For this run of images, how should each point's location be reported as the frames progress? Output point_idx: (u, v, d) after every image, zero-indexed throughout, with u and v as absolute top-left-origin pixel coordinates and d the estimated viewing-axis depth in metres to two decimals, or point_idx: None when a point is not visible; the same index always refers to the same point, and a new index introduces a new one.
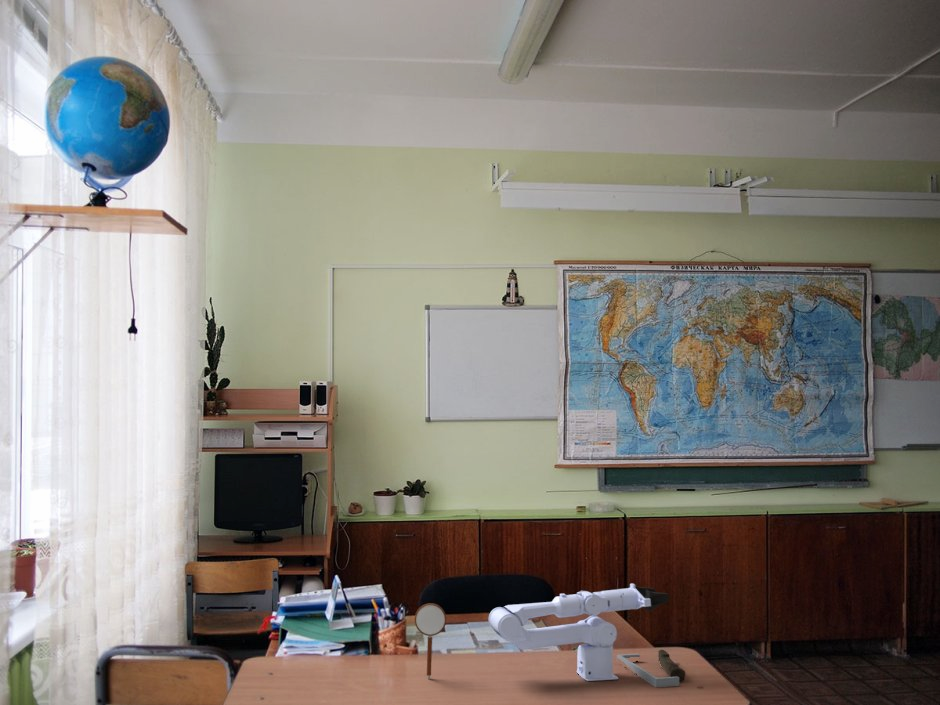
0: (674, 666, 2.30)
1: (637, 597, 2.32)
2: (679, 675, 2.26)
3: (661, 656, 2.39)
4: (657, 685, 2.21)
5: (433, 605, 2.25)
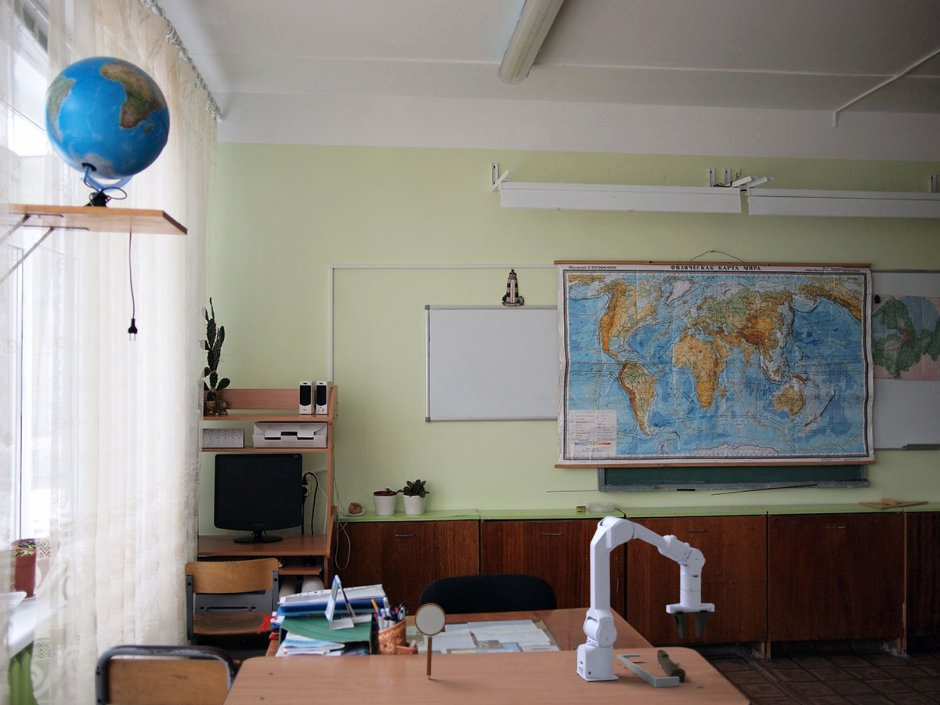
0: (674, 666, 2.30)
1: None
2: (679, 675, 2.26)
3: (660, 656, 2.39)
4: (657, 685, 2.21)
5: (433, 605, 2.25)
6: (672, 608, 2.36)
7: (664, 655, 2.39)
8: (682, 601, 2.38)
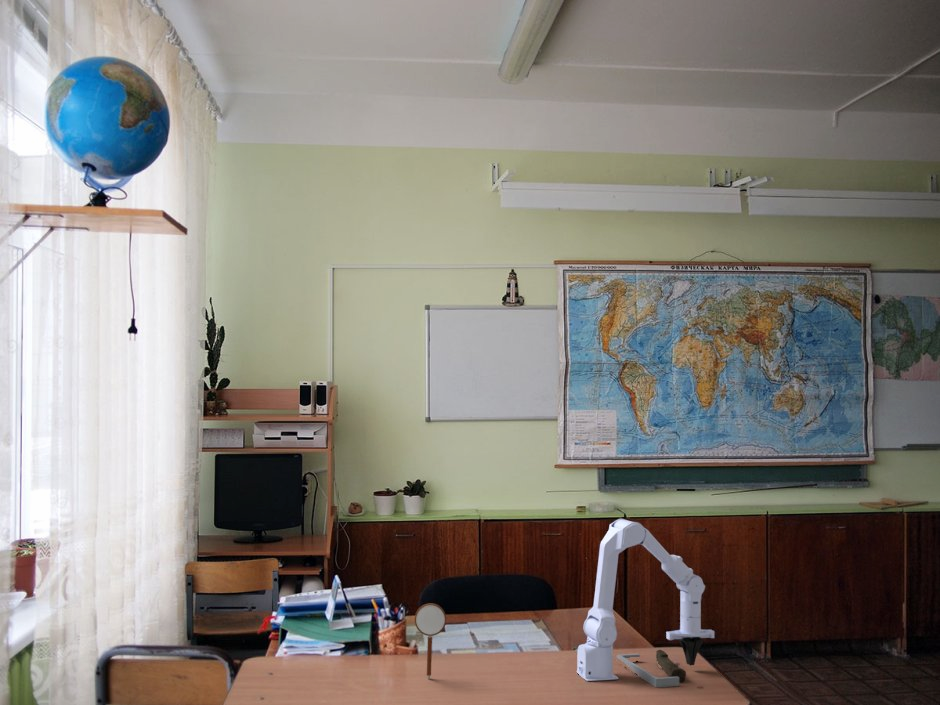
0: (674, 666, 2.30)
1: None
2: (680, 675, 2.26)
3: (660, 656, 2.39)
4: (657, 685, 2.21)
5: (433, 605, 2.25)
6: (672, 635, 2.36)
7: (663, 655, 2.39)
8: (682, 628, 2.37)
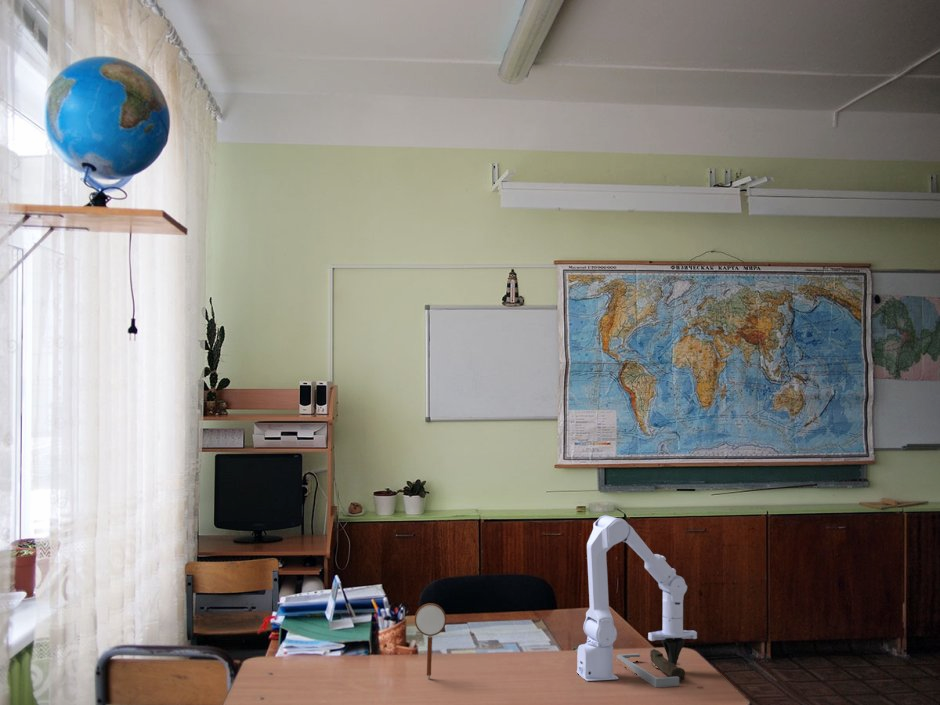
0: (673, 666, 2.29)
1: None
2: (679, 674, 2.26)
3: (655, 656, 2.39)
4: (657, 685, 2.21)
5: (433, 605, 2.25)
6: (654, 636, 2.34)
7: (659, 655, 2.39)
8: (664, 628, 2.36)
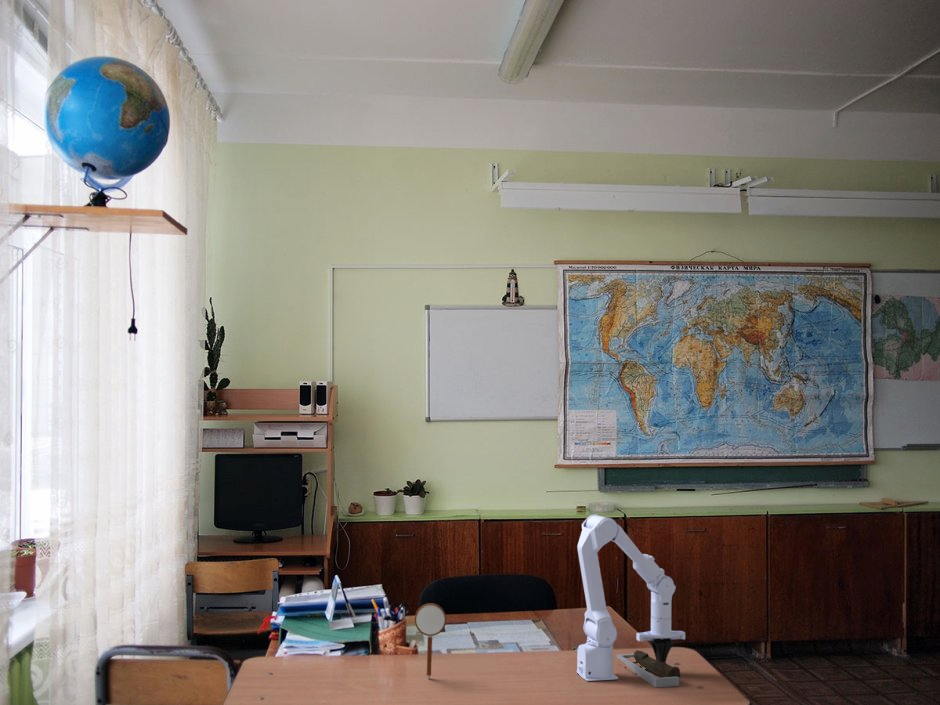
0: (665, 666, 2.28)
1: None
2: (676, 674, 2.25)
3: (642, 659, 2.36)
4: (657, 685, 2.21)
5: (433, 605, 2.25)
6: (642, 636, 2.33)
7: (645, 656, 2.37)
8: (652, 629, 2.35)
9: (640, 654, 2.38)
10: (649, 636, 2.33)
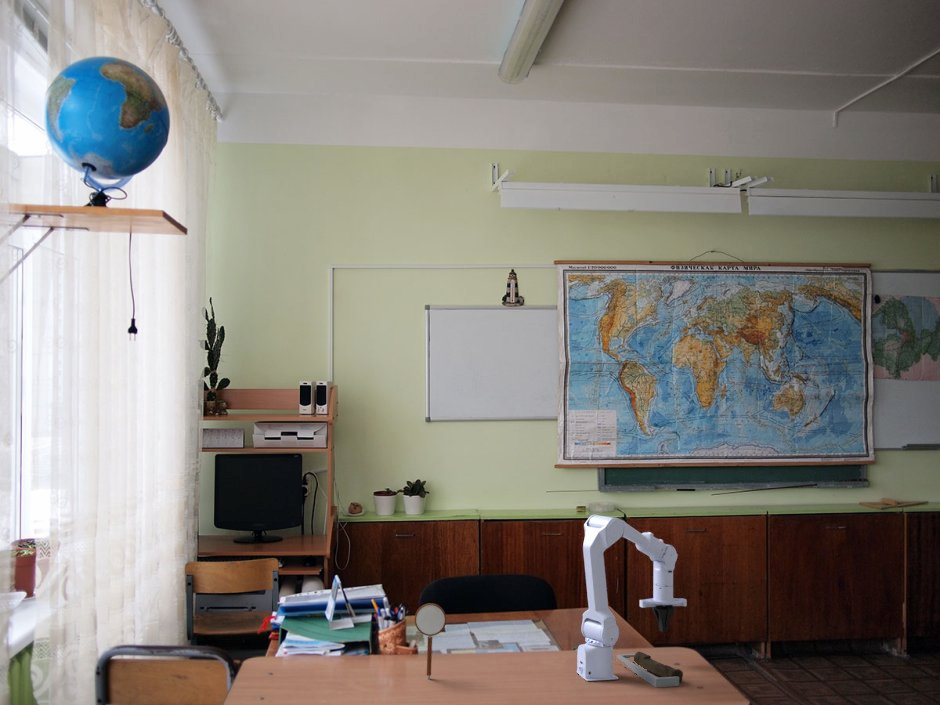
0: (669, 667, 2.28)
1: None
2: (679, 676, 2.25)
3: (644, 658, 2.36)
4: (657, 685, 2.21)
5: (433, 605, 2.25)
6: (645, 603, 2.42)
7: (647, 657, 2.37)
8: (655, 596, 2.44)
9: (643, 654, 2.38)
10: (652, 602, 2.42)
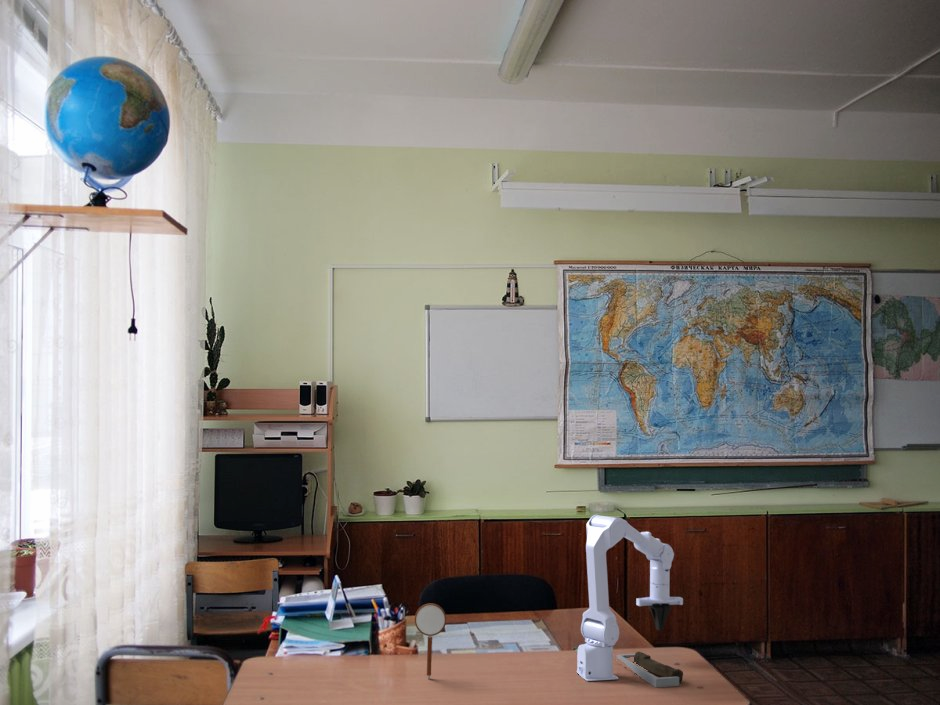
0: (669, 667, 2.28)
1: None
2: (679, 676, 2.25)
3: (643, 658, 2.36)
4: (657, 685, 2.21)
5: (433, 605, 2.25)
6: (641, 601, 2.45)
7: (647, 657, 2.37)
8: (651, 594, 2.47)
9: (642, 654, 2.38)
10: (648, 601, 2.45)
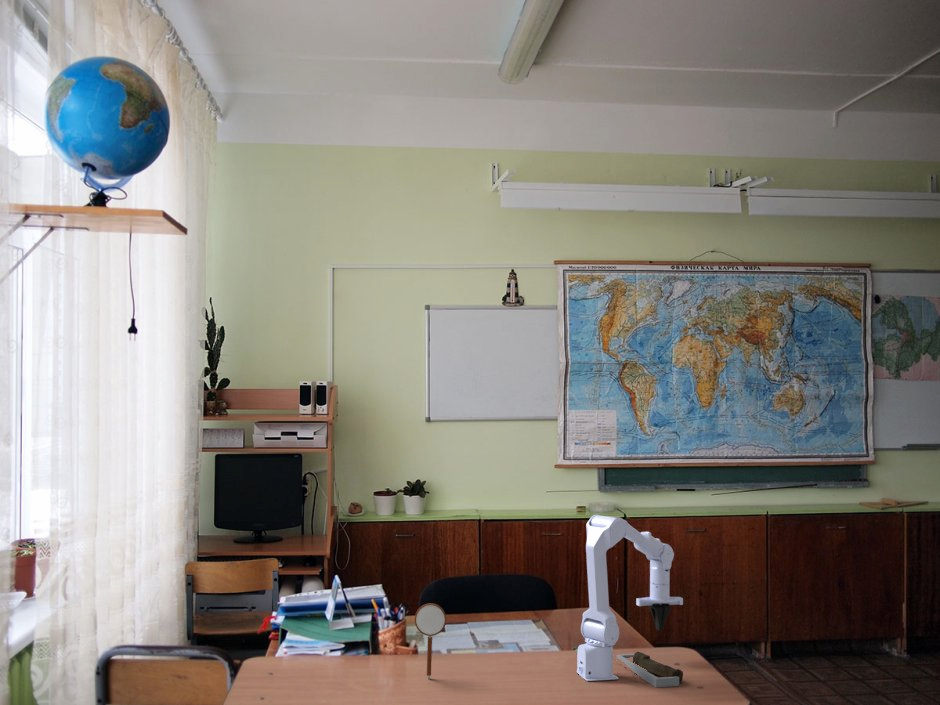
0: (669, 668, 2.28)
1: None
2: (679, 676, 2.25)
3: (643, 659, 2.36)
4: (657, 685, 2.21)
5: (433, 605, 2.25)
6: (641, 601, 2.45)
7: (646, 657, 2.37)
8: (651, 594, 2.47)
9: (642, 655, 2.38)
10: (648, 601, 2.45)
